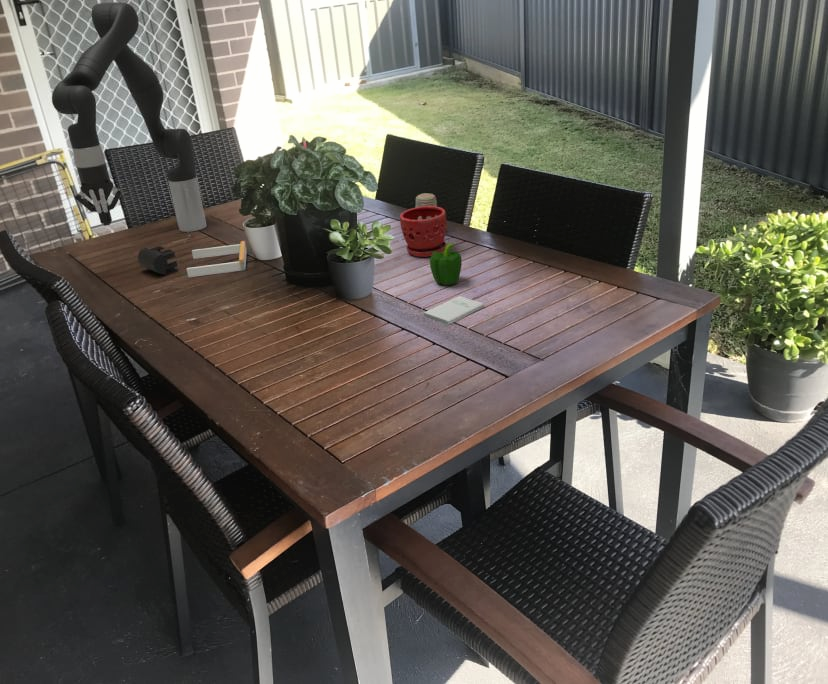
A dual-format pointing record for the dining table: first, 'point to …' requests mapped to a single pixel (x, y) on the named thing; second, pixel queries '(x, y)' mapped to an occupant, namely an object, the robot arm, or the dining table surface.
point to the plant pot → (424, 230)
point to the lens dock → (219, 267)
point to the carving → (425, 202)
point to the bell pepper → (446, 266)
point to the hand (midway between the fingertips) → (107, 224)
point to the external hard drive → (453, 310)
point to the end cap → (157, 260)
